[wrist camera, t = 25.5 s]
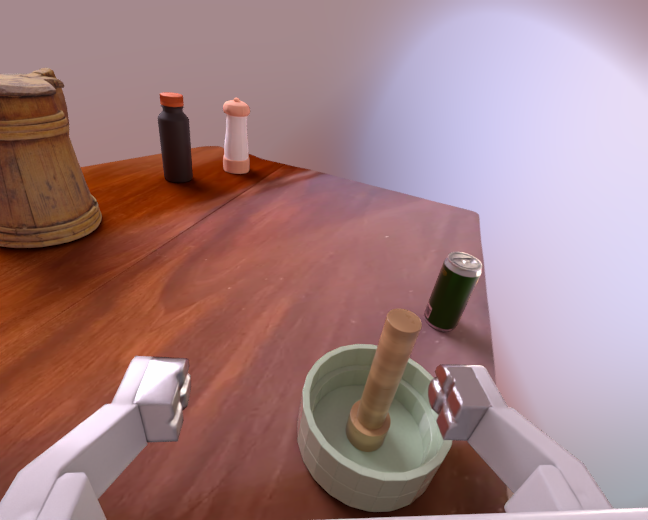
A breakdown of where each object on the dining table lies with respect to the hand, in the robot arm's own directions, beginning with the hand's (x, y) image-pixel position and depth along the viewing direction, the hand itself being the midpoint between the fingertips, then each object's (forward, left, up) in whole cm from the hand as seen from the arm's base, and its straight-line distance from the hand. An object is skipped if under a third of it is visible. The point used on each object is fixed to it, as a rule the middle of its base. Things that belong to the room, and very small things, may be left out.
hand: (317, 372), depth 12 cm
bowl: (+17, -1, -28) cm, 33 cm away
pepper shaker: (+74, +60, -28) cm, 99 cm away
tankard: (+27, +67, -28) cm, 77 cm away
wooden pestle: (+17, -1, -27) cm, 32 cm away
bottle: (+58, +66, -28) cm, 92 cm away
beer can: (+42, -5, -28) cm, 51 cm away
